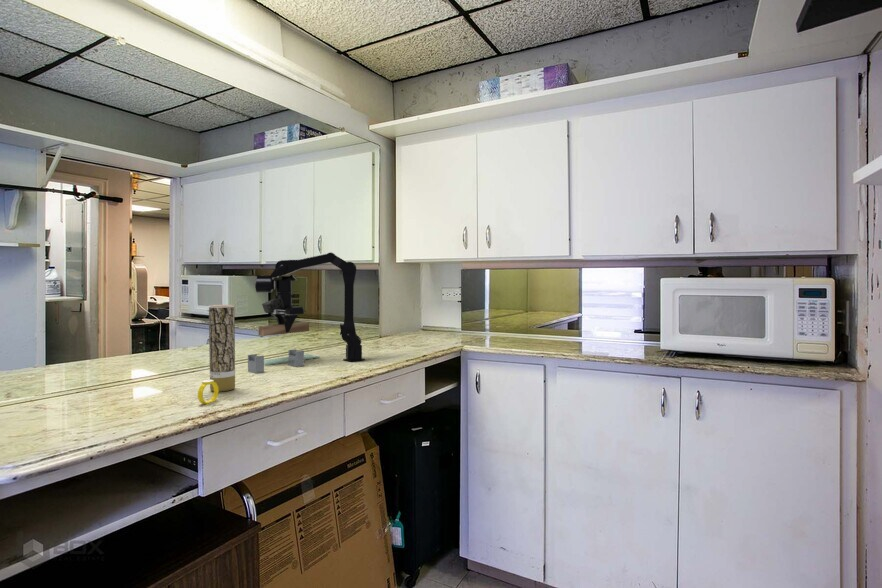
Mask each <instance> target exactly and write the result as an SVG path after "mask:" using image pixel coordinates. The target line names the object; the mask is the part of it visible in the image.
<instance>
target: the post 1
mask: <svg viewBox="0 0 882 588" xmlns="http://www.w3.org/2000/svg"><path fill="white" fill-rule="evenodd" d="M264 360H265V356H264V355H258V354H256V353H253V354H247V372H250V373H252V374H259V373H260V374H261V372H262V373H265V366H264Z"/></svg>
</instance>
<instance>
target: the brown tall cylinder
mask: <svg viewBox="0 0 882 588" xmlns="http://www.w3.org/2000/svg"><path fill="white" fill-rule="evenodd" d="M235 326H236V325H235V306H234V304H212V305H208V333H209V334H208V339H209V350H208V351H209V354H208V355H209V380H214V382H215V383H216V384H217V386H218V390H219V392H222V391H223V392H228V391H233V390H234V389H235V388H236V350H235V349H236V344H235V343H236V340H235V339H236V337H235V332H236V331H235ZM209 389H210V391H212V392H214V387H213V385H212V384H209Z"/></svg>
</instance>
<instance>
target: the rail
mask: <svg viewBox="0 0 882 588" xmlns="http://www.w3.org/2000/svg"><path fill="white" fill-rule="evenodd" d="M257 331H258V336H261V337H264V336H274V335H275V336H276V335H277V336H278V335H287V334H294V333H296V334H297V333H305V332H310V323H309V322H304V321H303V322H293V324H292V327H291V329H290V331H289V332H286V329H285V324H278V323H277V324H268V325H267V324H266V325H258V329H257Z"/></svg>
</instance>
